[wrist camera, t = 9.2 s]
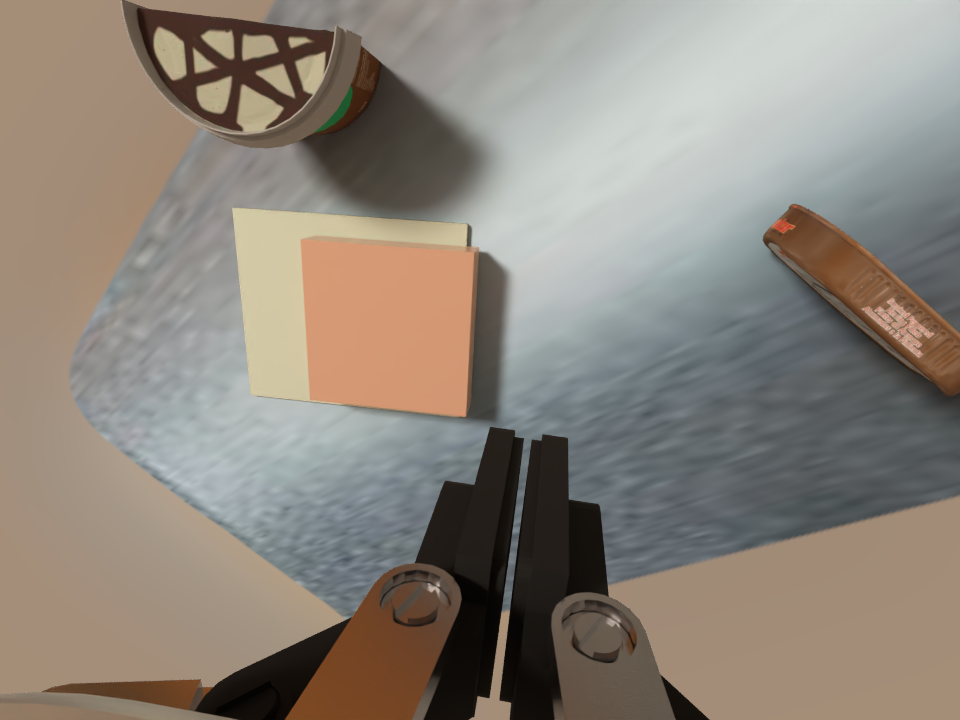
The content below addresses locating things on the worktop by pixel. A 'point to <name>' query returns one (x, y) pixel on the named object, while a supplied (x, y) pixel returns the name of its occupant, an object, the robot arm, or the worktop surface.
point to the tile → (390, 323)
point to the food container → (253, 74)
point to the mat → (301, 286)
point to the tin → (868, 295)
